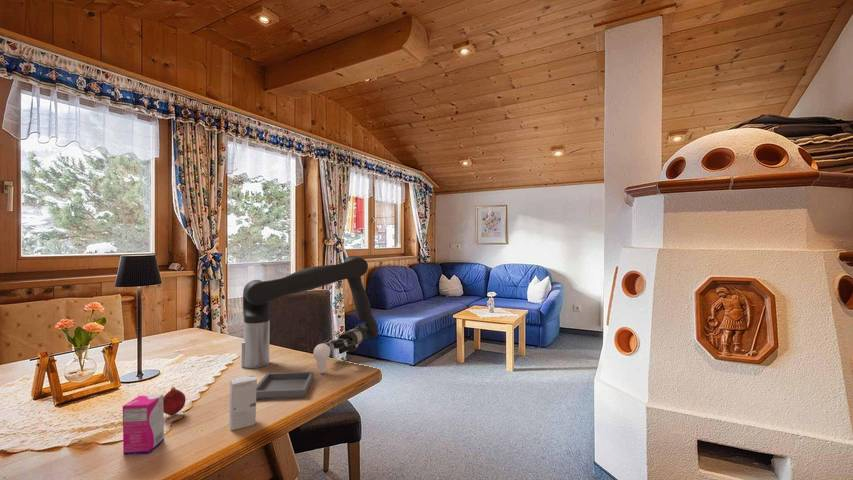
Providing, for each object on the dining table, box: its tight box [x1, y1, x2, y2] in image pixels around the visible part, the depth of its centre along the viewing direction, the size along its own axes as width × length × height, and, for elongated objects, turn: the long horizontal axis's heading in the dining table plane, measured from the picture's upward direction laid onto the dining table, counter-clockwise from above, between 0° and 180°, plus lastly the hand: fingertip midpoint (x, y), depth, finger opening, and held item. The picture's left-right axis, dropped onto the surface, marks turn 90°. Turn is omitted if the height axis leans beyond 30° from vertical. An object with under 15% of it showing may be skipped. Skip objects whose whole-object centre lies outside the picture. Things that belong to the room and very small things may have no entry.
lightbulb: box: [312, 343, 331, 374], centre depth 135 cm, size 6×6×11 cm
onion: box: [163, 386, 186, 417], centre depth 102 cm, size 6×6×8 cm
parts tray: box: [256, 371, 315, 401], centre depth 121 cm, size 16×16×2 cm
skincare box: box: [228, 375, 258, 431], centre depth 97 cm, size 6×4×12 cm
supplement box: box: [122, 394, 165, 456], centre depth 86 cm, size 6×6×12 cm
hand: (329, 350), depth 140 cm, fingers open, 8 cm apart
